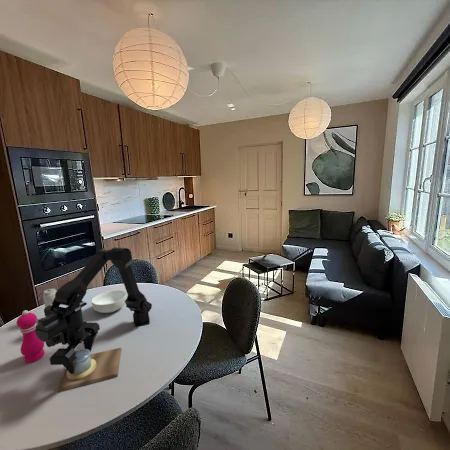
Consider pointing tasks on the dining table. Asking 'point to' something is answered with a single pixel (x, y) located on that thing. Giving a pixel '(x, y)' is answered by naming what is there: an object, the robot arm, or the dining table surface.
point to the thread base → (93, 370)
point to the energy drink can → (49, 296)
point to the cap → (82, 361)
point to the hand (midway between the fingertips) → (80, 363)
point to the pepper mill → (30, 338)
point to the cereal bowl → (109, 301)
